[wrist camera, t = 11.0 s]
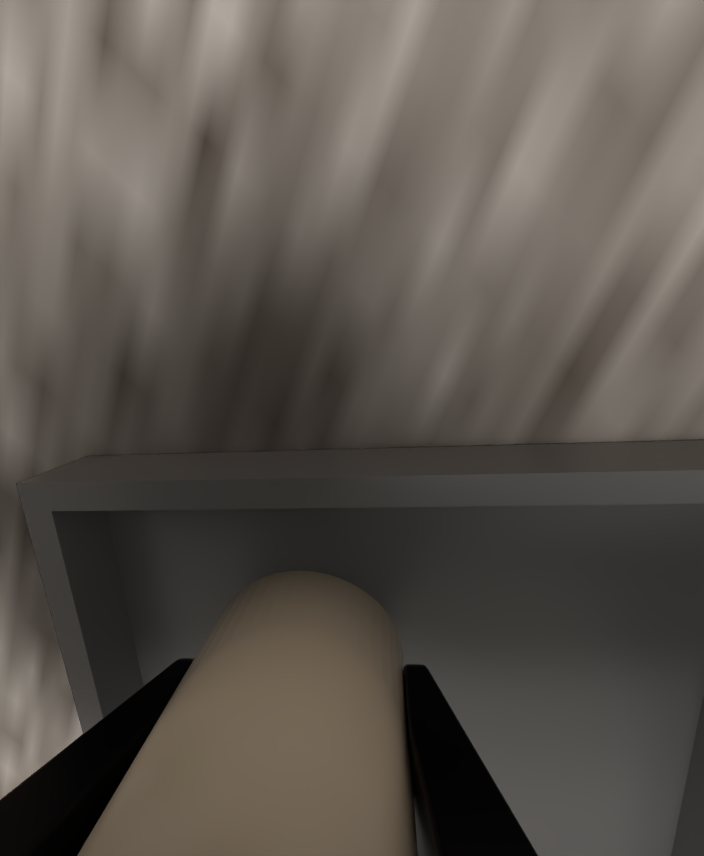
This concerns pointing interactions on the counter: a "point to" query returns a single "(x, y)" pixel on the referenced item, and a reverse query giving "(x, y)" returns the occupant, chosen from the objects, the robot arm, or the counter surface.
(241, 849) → the pebble
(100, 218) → the counter surface
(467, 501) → the parts tray
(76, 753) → the robot arm
